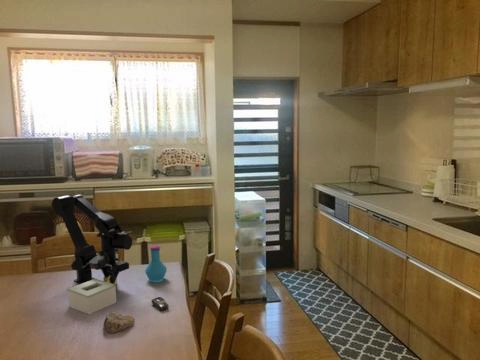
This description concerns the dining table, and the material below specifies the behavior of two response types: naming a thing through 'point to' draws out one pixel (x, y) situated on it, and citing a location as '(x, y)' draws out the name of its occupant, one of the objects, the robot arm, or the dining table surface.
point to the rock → (117, 322)
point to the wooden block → (109, 279)
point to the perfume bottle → (155, 266)
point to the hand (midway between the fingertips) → (110, 282)
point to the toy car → (159, 303)
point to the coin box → (92, 296)
